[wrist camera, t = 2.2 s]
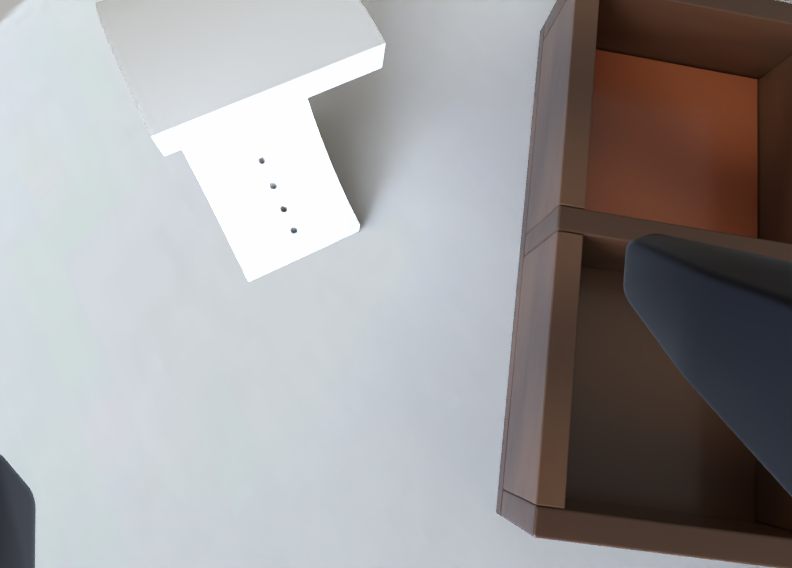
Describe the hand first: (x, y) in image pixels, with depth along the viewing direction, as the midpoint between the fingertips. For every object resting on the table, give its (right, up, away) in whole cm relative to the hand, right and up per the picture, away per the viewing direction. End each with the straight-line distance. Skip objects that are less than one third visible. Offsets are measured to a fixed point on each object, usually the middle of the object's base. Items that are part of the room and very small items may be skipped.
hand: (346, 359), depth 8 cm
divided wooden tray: (+11, +2, +15) cm, 19 cm away
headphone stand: (-4, +5, +15) cm, 16 cm away
